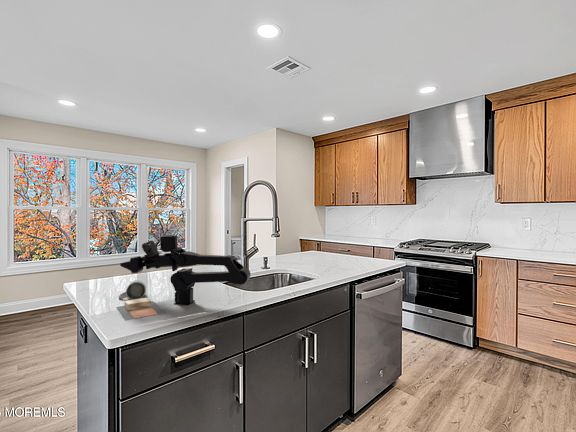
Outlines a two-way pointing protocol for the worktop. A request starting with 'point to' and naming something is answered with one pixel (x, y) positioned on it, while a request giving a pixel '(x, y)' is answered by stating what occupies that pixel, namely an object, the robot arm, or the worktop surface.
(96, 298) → the worktop surface
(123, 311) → the mat
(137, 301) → the card box
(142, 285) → the ceramic mug
